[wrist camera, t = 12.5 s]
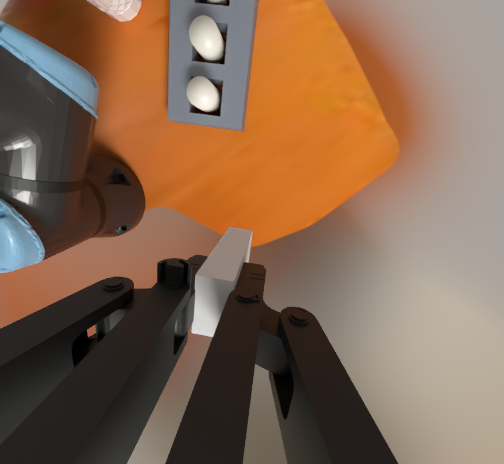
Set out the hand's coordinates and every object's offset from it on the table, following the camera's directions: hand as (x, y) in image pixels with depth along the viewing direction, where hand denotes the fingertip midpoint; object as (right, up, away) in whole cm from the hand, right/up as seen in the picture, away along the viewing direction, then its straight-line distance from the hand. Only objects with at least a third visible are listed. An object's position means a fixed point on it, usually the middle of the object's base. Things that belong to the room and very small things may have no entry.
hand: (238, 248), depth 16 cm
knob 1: (-6, +23, +24) cm, 33 cm away
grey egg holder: (-5, +29, +22) cm, 37 cm away
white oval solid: (-5, +29, +22) cm, 37 cm away
